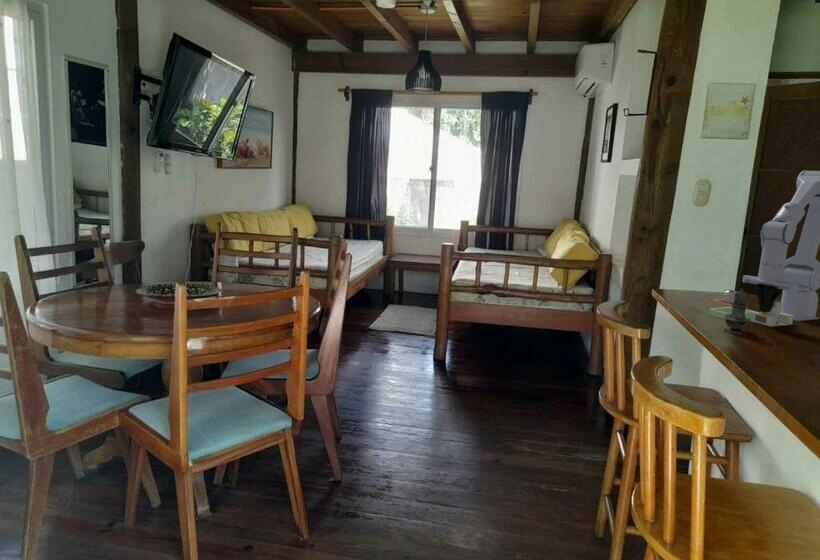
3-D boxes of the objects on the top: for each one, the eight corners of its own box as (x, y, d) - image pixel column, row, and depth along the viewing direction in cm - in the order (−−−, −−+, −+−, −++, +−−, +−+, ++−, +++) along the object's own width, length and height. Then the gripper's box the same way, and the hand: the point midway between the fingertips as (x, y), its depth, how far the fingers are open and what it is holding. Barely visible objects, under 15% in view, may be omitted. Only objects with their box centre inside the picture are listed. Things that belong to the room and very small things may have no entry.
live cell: (769, 320, 154) (772, 299, 152) (781, 323, 150) (785, 302, 149) (760, 321, 152) (764, 300, 151) (772, 324, 149) (776, 302, 148)
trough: (734, 313, 163) (735, 306, 162) (756, 319, 156) (757, 311, 156) (706, 315, 158) (707, 308, 158) (727, 321, 152) (728, 314, 152)
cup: (725, 308, 170) (727, 299, 170) (745, 313, 164) (747, 303, 163) (710, 309, 168) (712, 300, 167) (730, 314, 161) (731, 304, 161)
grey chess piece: (752, 335, 138) (759, 291, 136) (727, 333, 139) (734, 289, 137) (742, 329, 144) (749, 286, 141) (719, 328, 145) (725, 285, 142)
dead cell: (727, 308, 168) (729, 289, 167) (737, 310, 165) (740, 291, 164) (718, 308, 167) (721, 289, 166) (729, 311, 163) (732, 291, 162)
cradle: (771, 320, 156) (773, 308, 155) (791, 325, 150) (793, 313, 150) (749, 322, 152) (751, 310, 152) (769, 327, 147) (771, 315, 146)
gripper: (738, 260, 152) (731, 306, 155) (789, 269, 139) (780, 318, 141) (754, 260, 155) (747, 305, 157) (806, 268, 141) (798, 317, 144)
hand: (764, 311), depth 149 cm, fingers closed
